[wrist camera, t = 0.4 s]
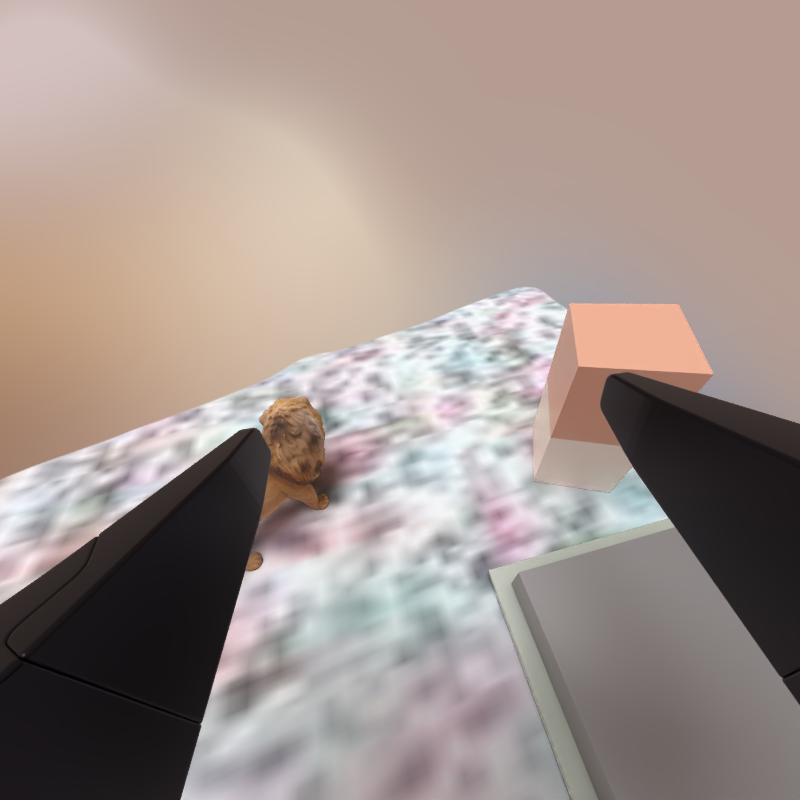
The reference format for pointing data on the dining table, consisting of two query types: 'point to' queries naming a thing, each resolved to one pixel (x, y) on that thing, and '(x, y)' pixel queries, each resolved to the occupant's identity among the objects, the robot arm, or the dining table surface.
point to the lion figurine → (292, 457)
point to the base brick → (648, 674)
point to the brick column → (584, 381)
